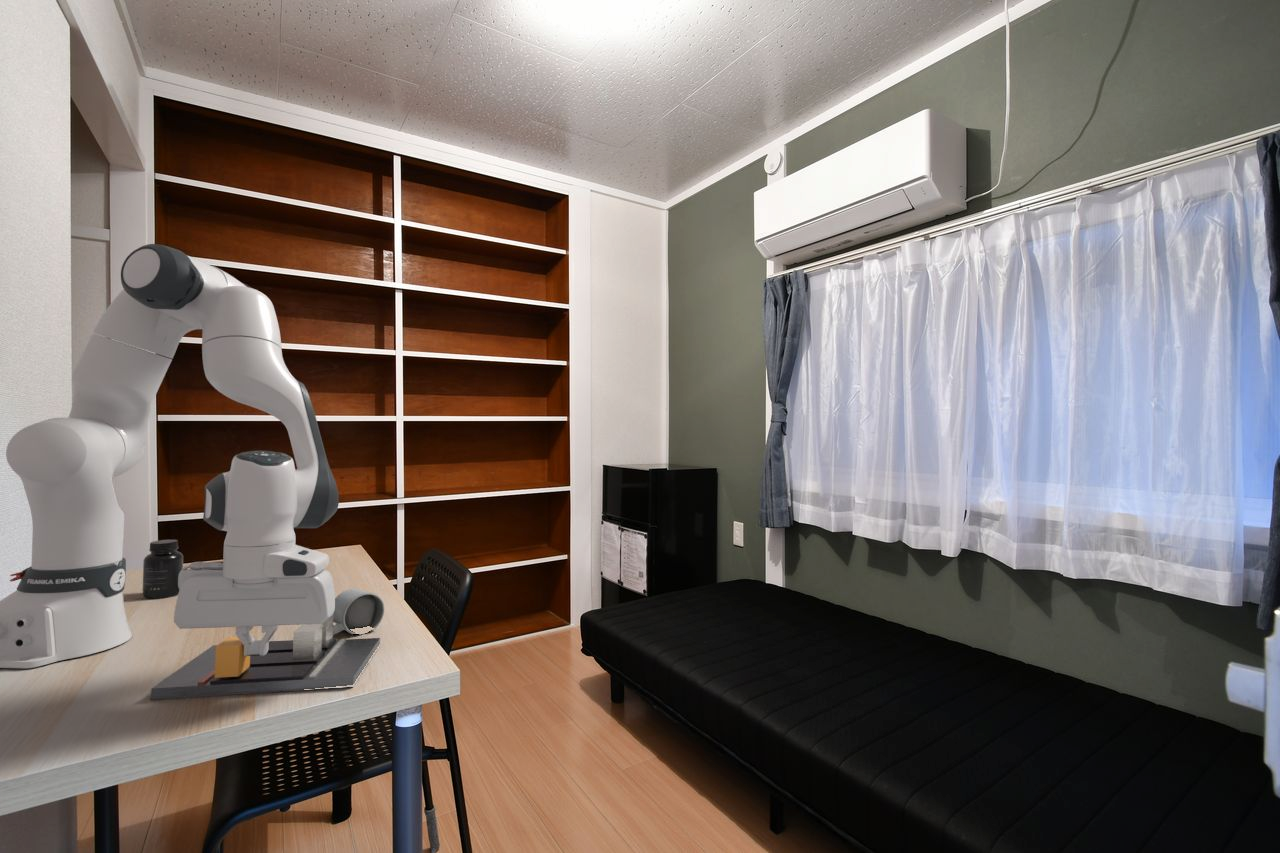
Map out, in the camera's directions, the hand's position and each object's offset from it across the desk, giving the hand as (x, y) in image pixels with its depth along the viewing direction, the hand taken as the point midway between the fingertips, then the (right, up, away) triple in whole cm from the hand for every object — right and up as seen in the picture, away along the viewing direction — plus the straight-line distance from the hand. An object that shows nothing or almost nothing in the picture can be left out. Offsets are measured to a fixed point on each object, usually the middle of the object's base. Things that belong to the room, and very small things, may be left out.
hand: (255, 654), depth 82 cm
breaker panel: (0, -5, +6) cm, 7 cm away
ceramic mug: (+1, -5, +23) cm, 24 cm away
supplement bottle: (-50, -4, +42) cm, 65 cm away
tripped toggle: (-3, -2, -1) cm, 4 cm away
